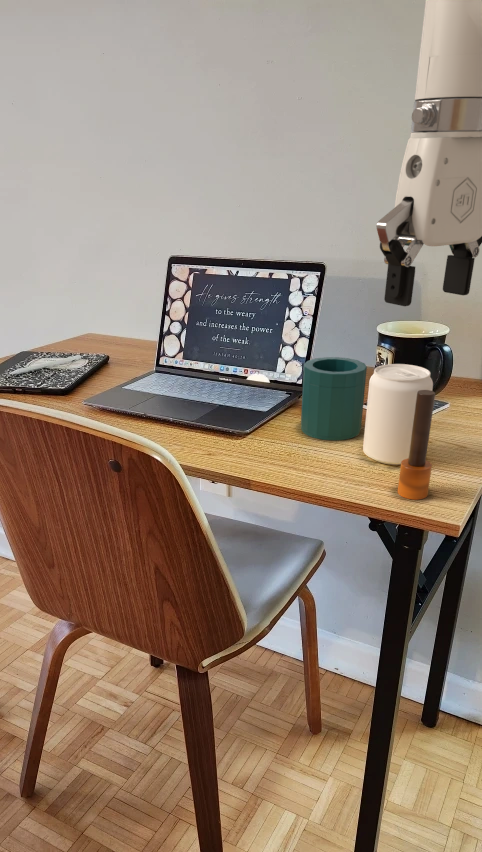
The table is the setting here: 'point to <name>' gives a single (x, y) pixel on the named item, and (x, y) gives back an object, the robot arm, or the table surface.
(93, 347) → the table surface
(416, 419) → the brown and orange pestle
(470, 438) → the table surface
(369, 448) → the beverage can
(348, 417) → the jar
